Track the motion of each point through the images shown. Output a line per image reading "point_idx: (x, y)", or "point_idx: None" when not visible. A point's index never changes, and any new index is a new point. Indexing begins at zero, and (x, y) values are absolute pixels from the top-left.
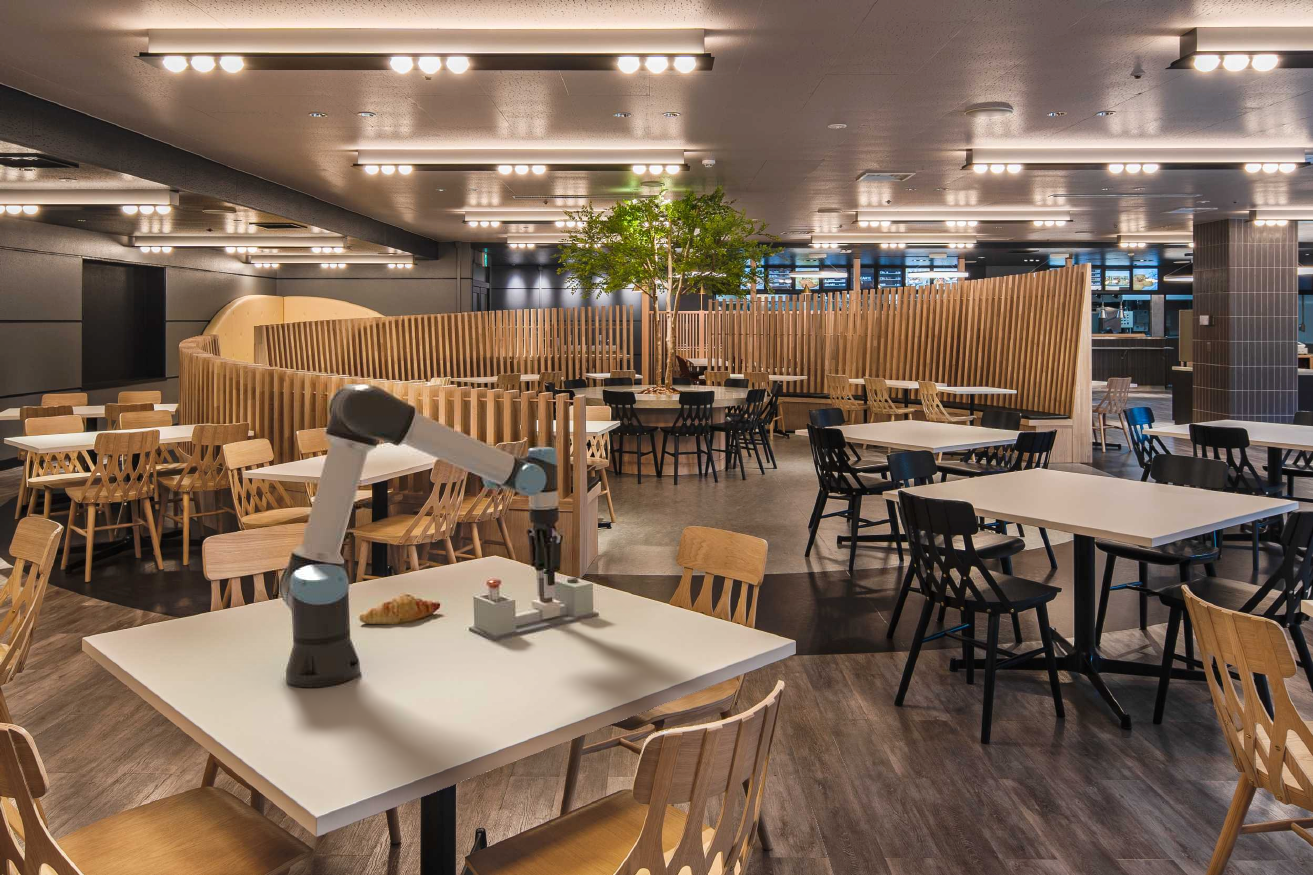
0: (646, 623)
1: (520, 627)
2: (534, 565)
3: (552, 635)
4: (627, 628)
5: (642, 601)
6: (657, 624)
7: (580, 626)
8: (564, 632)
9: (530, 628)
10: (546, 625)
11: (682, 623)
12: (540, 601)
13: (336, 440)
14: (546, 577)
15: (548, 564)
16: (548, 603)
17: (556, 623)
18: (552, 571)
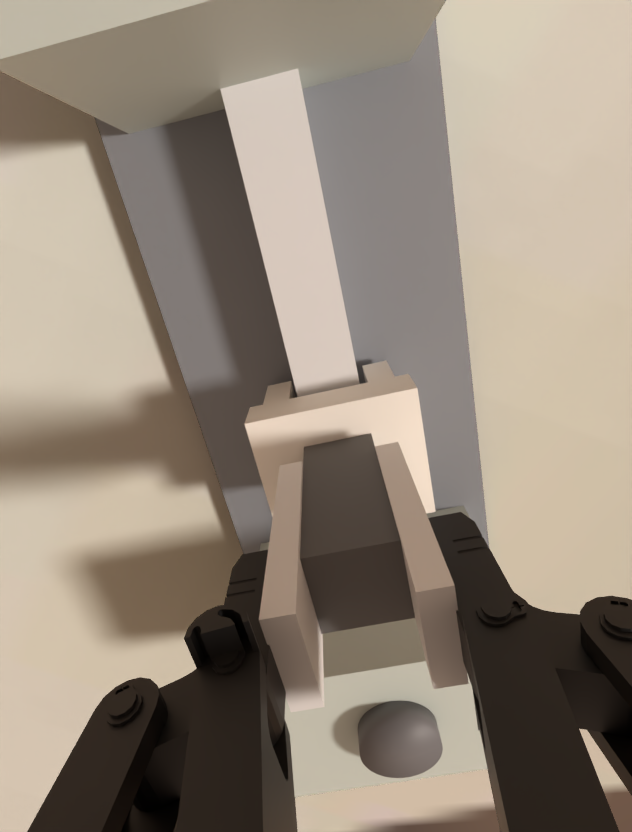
0: (79, 730)
1: (202, 197)
2: (582, 633)
3: (36, 339)
4: (35, 658)
5: (381, 815)
6: (51, 752)
7: (145, 517)
8: (71, 415)
9: (153, 251)
10: (180, 364)
11: (33, 809)
12: (358, 433)
13: None
14: (267, 593)
15: (186, 776)
16: (274, 461)
17: (202, 428)
18: (104, 700)
